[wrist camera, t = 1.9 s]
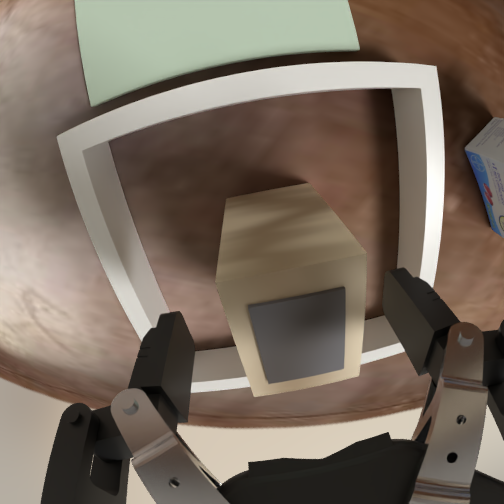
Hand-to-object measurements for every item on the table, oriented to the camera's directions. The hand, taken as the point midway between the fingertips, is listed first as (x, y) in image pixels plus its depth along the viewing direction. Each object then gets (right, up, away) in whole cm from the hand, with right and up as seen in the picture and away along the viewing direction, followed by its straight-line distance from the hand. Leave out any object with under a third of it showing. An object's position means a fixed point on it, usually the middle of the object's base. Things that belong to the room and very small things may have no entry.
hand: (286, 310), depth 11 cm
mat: (-4, +17, -2) cm, 17 cm away
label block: (0, +3, +6) cm, 7 cm away
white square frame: (0, +3, +6) cm, 7 cm away
